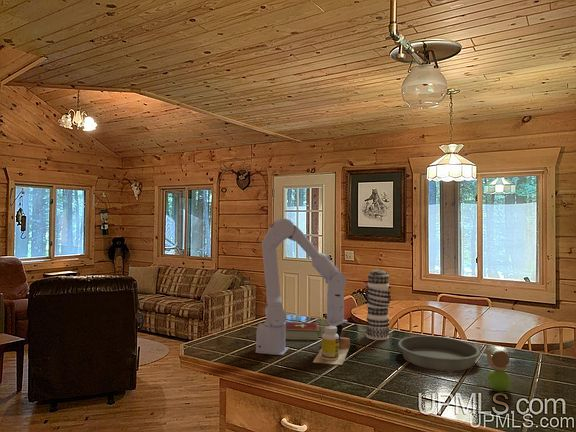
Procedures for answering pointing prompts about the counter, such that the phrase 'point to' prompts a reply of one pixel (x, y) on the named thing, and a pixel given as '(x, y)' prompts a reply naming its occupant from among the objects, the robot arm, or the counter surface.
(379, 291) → the decorative candle
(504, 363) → the snail figurine
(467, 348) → the cake pan
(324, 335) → the supplement bottle
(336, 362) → the strip
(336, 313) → the robot arm
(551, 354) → the counter surface
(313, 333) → the hardcover book
